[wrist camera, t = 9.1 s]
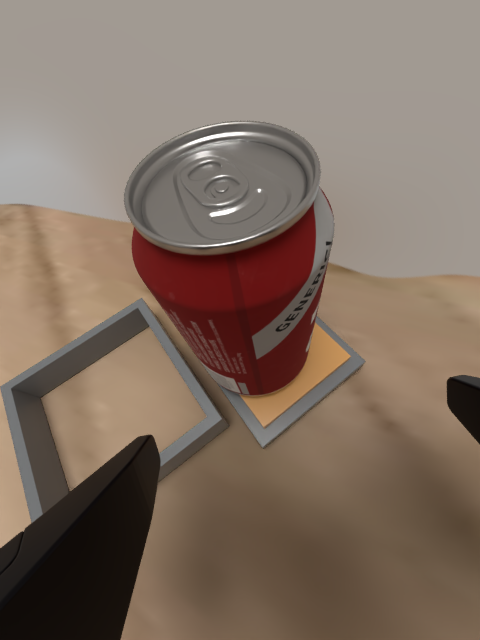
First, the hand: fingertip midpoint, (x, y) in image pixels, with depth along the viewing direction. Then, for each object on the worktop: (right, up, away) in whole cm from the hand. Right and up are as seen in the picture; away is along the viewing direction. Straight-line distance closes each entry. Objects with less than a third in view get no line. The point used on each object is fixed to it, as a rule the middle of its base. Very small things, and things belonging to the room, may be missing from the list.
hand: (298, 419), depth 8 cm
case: (-10, -3, +10) cm, 15 cm away
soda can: (-1, +1, +10) cm, 10 cm away
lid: (0, +1, +11) cm, 11 cm away
